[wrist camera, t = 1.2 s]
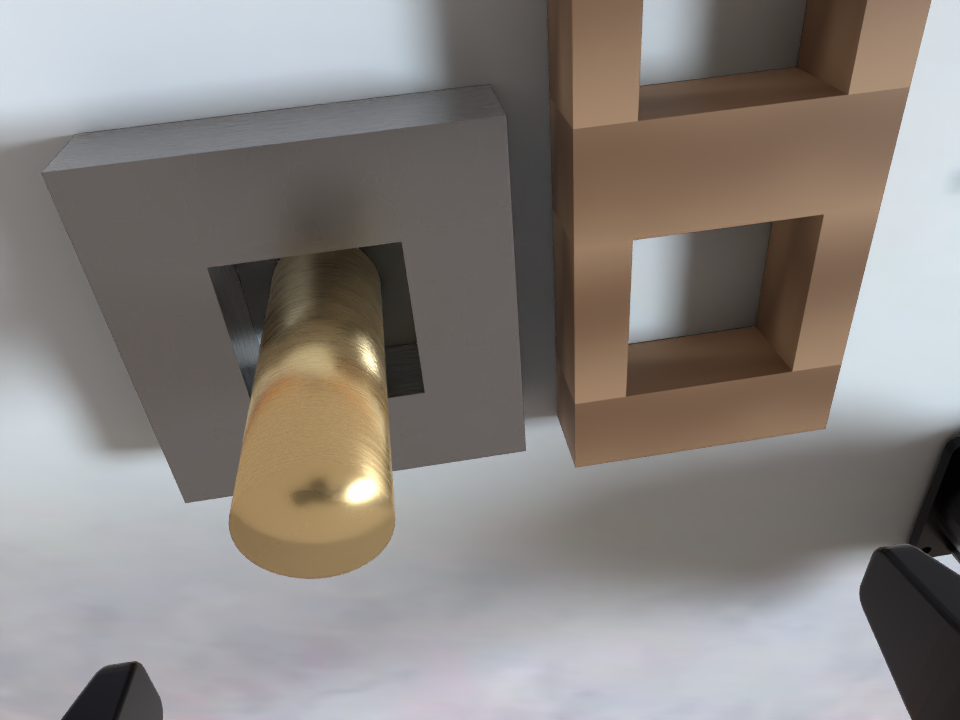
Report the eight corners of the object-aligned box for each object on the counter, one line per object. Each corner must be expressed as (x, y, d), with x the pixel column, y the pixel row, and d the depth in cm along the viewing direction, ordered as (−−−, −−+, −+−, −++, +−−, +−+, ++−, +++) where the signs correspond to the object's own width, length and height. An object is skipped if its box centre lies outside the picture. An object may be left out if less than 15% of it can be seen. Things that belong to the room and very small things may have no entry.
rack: (787, 381, 26) (825, 428, 24) (557, 416, 25) (575, 467, 23) (929, -327, 15) (1017, -351, 13) (540, -293, 15) (569, -312, 13)
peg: (387, 324, 22) (405, 564, 15) (285, 338, 22) (252, 589, 15) (371, 231, 20) (382, 452, 13) (260, 245, 20) (208, 478, 13)
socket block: (511, 399, 24) (526, 451, 22) (199, 445, 24) (185, 503, 22) (489, 83, 19) (506, 115, 17) (76, 134, 18) (41, 172, 16)
